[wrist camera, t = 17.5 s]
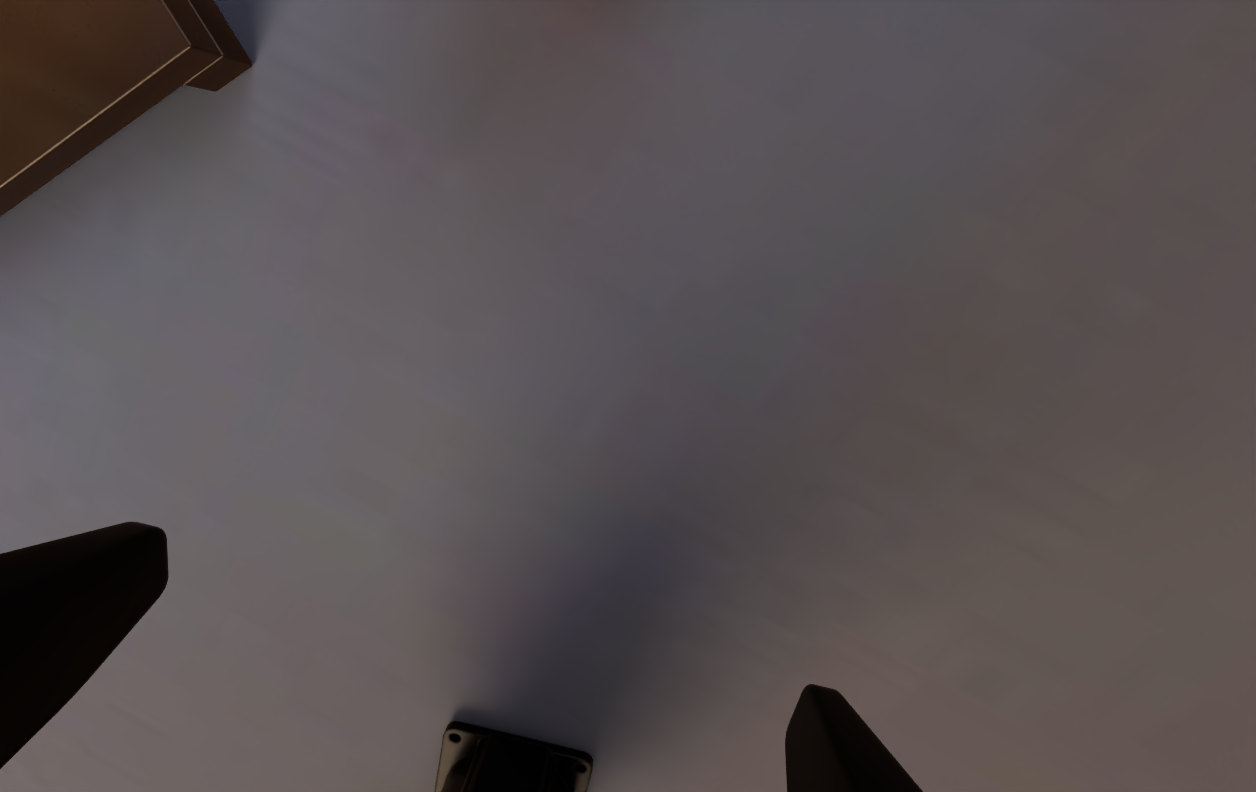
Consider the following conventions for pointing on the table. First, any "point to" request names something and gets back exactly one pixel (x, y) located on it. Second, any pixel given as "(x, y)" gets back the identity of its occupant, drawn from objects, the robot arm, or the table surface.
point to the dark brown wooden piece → (96, 75)
